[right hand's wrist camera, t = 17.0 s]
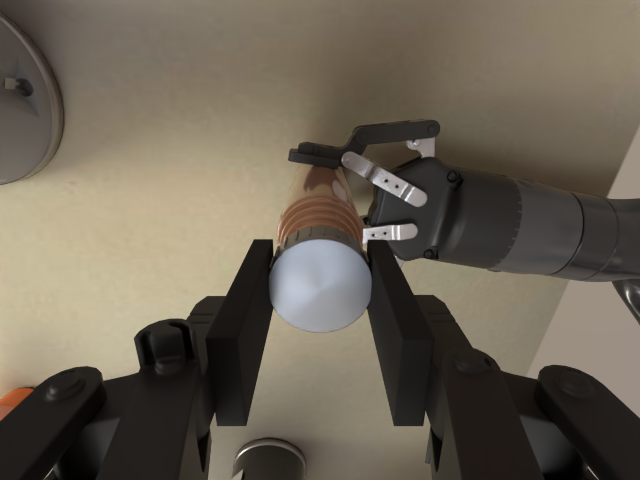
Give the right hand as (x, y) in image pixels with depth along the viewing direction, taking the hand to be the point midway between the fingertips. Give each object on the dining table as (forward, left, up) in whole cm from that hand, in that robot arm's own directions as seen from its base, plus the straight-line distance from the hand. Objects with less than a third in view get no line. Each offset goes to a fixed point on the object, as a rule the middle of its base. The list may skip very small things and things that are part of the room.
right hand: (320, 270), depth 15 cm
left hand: (-1, +2, -14) cm, 14 cm away
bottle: (0, 0, -20) cm, 20 cm away
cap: (0, 0, +1) cm, 1 cm away
